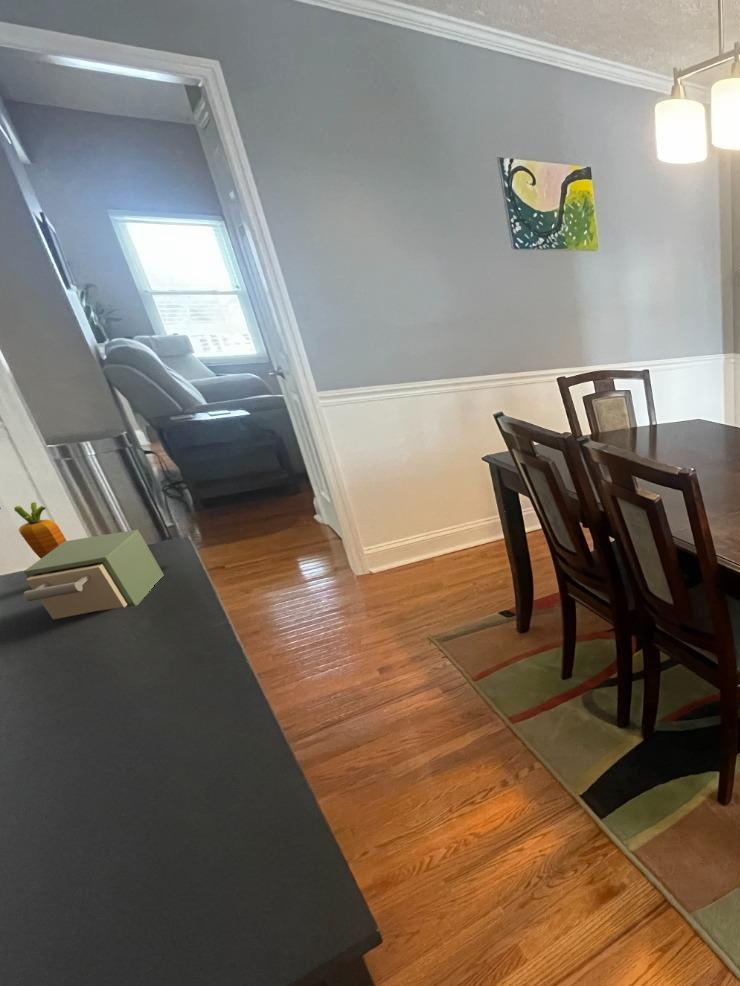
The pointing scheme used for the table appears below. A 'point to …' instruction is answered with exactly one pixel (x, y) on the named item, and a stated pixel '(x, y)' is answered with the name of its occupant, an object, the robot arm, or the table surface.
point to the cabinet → (108, 561)
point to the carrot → (39, 531)
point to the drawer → (75, 590)
